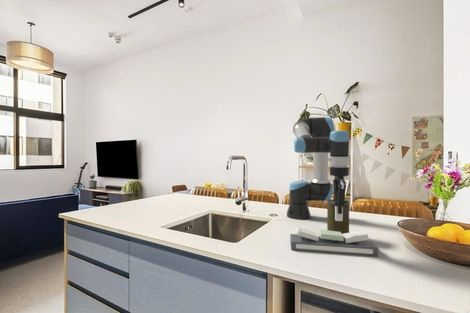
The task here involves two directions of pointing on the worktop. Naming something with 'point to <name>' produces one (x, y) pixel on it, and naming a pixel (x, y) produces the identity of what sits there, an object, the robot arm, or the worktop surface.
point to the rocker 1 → (307, 233)
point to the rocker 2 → (355, 236)
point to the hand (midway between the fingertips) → (338, 220)
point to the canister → (331, 222)
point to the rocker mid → (331, 235)
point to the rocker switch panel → (333, 246)
